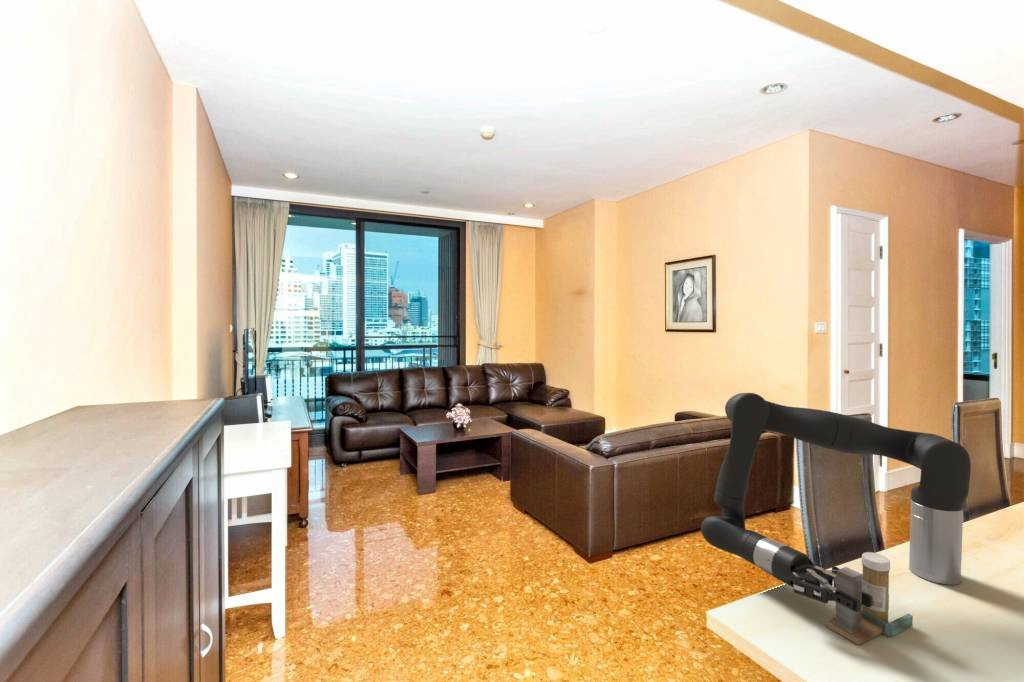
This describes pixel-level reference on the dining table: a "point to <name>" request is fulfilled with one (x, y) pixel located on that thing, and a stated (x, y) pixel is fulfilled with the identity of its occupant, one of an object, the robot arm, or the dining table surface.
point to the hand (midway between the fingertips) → (865, 604)
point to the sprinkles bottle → (876, 584)
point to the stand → (860, 613)
